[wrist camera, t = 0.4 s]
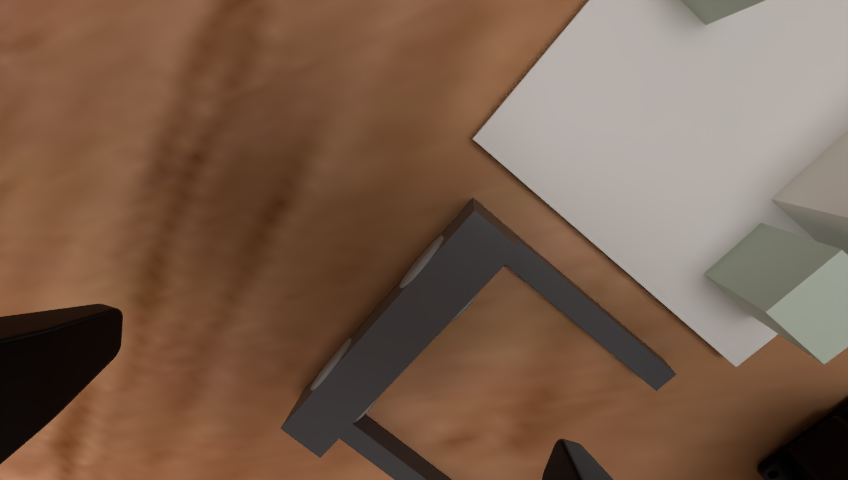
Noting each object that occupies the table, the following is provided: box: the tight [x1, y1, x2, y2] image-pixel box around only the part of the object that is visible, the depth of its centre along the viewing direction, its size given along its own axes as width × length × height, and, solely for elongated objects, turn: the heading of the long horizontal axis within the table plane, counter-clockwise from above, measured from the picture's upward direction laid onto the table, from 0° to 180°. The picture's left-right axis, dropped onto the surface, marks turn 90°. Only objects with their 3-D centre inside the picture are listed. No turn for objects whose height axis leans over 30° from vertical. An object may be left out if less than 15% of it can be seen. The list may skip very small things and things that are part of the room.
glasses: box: [281, 198, 676, 480], centre depth 21 cm, size 12×14×3 cm
